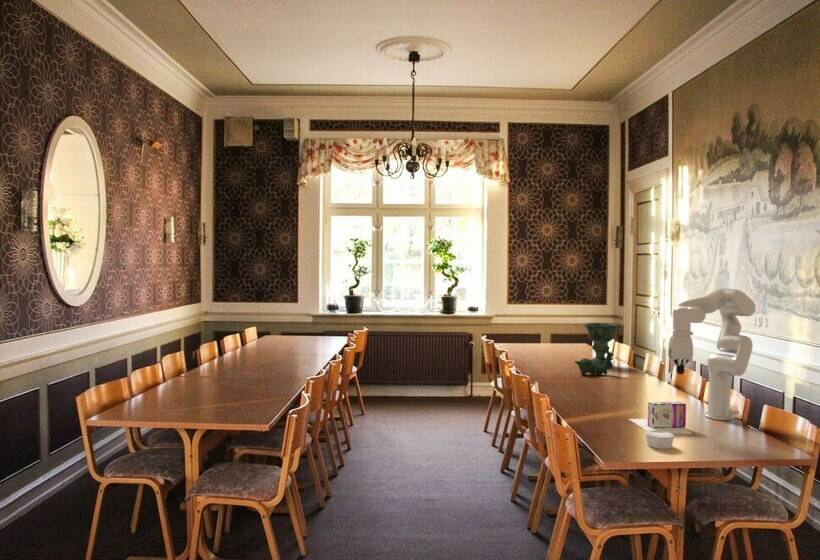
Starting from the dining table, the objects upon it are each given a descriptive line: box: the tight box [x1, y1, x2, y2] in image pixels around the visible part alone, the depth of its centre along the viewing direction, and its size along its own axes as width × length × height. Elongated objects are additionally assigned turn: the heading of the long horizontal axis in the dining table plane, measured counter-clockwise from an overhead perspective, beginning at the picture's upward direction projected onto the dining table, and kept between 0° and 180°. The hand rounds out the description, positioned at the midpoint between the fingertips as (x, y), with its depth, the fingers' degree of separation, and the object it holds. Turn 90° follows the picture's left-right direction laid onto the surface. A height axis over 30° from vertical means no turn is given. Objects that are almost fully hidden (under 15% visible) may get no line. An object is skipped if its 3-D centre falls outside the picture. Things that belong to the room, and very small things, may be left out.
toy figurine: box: [574, 349, 614, 377], centre depth 422 cm, size 9×19×25 cm
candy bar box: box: [647, 401, 687, 428], centre depth 294 cm, size 11×5×16 cm
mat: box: [628, 418, 693, 435], centre depth 296 cm, size 19×24×1 cm
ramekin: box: [645, 430, 675, 450], centre depth 266 cm, size 11×11×5 cm
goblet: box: [584, 322, 619, 368], centre depth 457 cm, size 22×23×30 cm
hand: (680, 373), depth 295 cm, fingers closed
